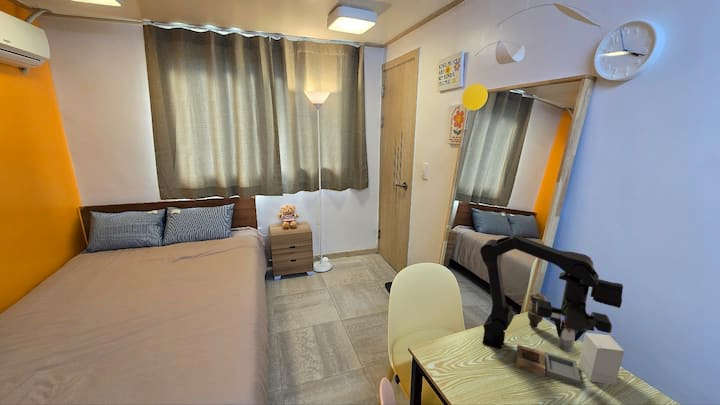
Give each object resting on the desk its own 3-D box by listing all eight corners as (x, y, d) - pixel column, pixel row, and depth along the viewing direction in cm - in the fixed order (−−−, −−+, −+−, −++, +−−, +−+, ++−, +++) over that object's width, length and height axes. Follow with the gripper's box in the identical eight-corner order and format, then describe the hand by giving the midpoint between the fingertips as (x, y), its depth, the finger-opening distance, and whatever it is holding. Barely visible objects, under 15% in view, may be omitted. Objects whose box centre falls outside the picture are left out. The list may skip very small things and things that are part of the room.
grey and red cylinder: (558, 349, 93) (562, 325, 90) (556, 341, 96) (561, 318, 94) (573, 353, 91) (578, 329, 89) (571, 345, 94) (576, 321, 92)
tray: (545, 374, 94) (546, 370, 94) (543, 356, 102) (544, 351, 101) (579, 385, 90) (580, 381, 89) (575, 365, 98) (576, 361, 97)
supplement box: (616, 385, 90) (625, 351, 87) (589, 381, 91) (597, 348, 88) (602, 366, 97) (610, 334, 94) (577, 363, 98) (584, 331, 95)
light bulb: (536, 322, 119) (541, 290, 115) (545, 332, 113) (551, 298, 110) (522, 323, 119) (527, 290, 115) (531, 332, 113) (536, 298, 109)
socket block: (516, 367, 97) (517, 359, 96) (516, 351, 104) (517, 344, 103) (544, 376, 93) (545, 368, 93) (542, 359, 100) (543, 352, 99)
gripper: (541, 300, 86) (534, 344, 90) (622, 318, 78) (610, 366, 81) (539, 283, 96) (532, 323, 100) (611, 297, 87) (601, 341, 91)
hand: (566, 338), depth 93 cm, fingers closed on grey and red cylinder, 4 cm apart
